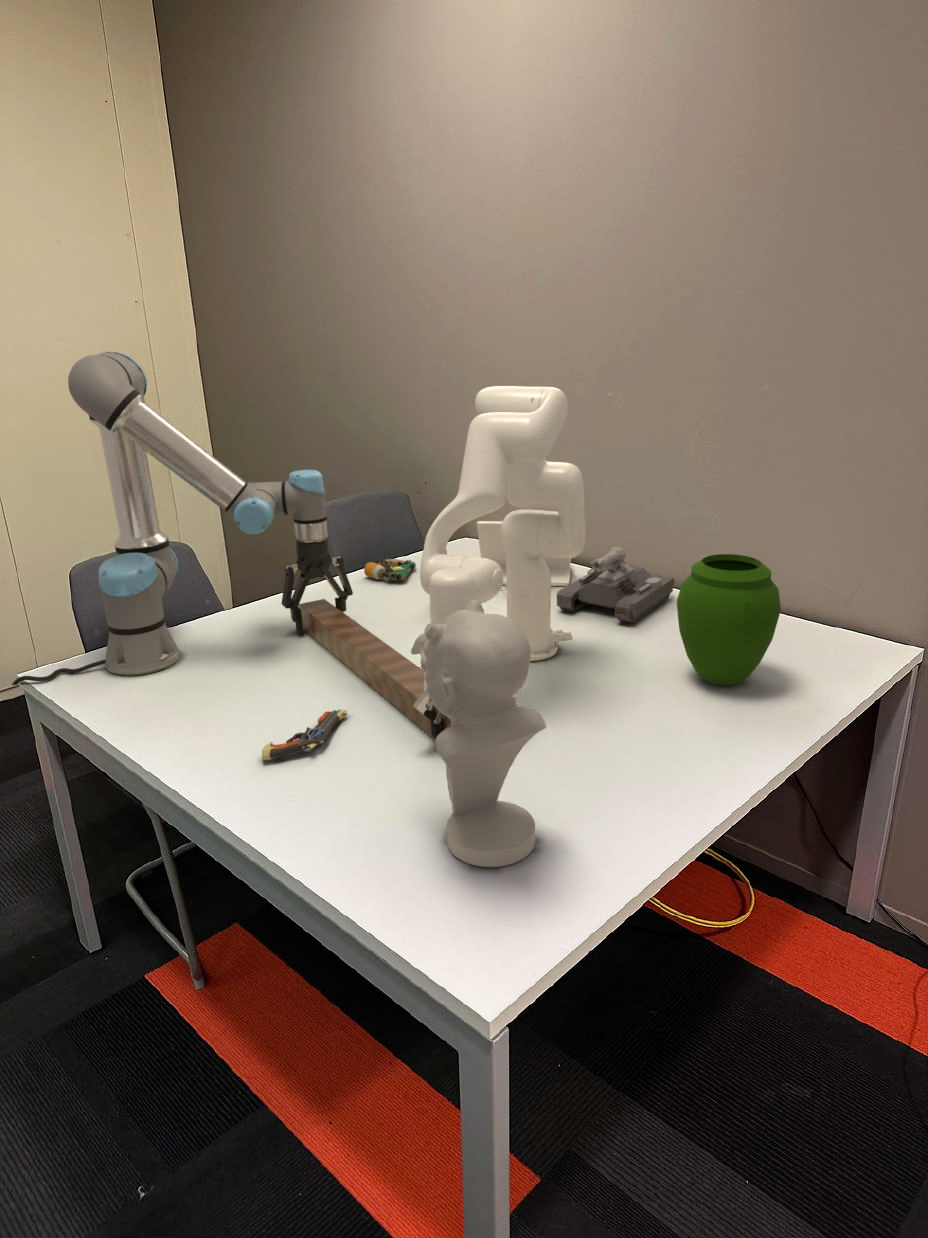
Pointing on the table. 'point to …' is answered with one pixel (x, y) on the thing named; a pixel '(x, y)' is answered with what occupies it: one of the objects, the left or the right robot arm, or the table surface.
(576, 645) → the table surface
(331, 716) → the toy gun
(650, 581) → the toy
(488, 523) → the tablet stand
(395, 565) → the spray gun
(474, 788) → the bust sculpture
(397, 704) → the beam
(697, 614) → the vase
